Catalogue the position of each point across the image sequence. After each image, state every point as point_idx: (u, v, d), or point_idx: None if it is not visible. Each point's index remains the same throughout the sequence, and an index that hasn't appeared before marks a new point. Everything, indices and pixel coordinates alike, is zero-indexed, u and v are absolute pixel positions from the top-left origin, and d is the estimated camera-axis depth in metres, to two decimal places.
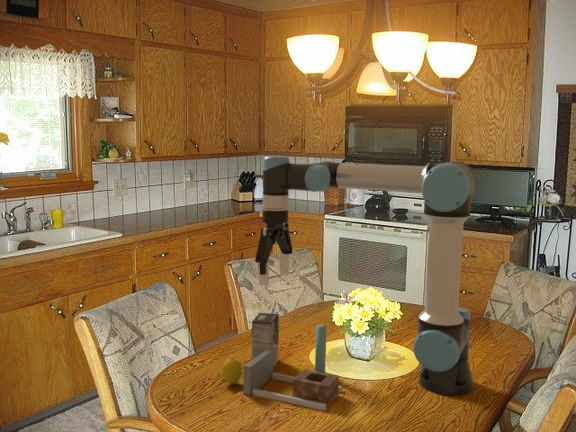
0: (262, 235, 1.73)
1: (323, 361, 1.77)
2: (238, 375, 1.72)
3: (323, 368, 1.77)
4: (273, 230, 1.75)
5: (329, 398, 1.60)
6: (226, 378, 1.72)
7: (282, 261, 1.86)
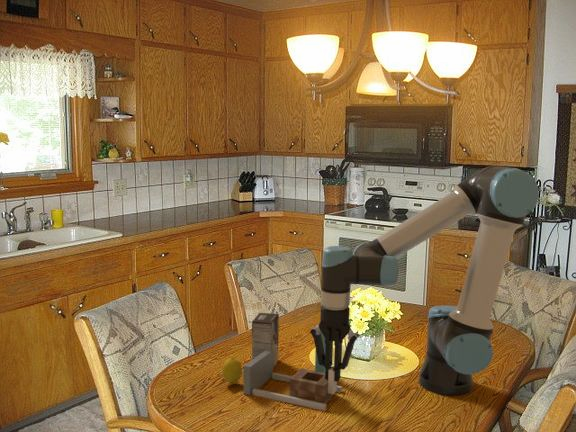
0: None
1: None
2: (238, 375, 1.72)
3: (323, 368, 1.77)
4: (321, 327, 1.60)
5: (326, 397, 1.60)
6: (226, 378, 1.72)
7: None
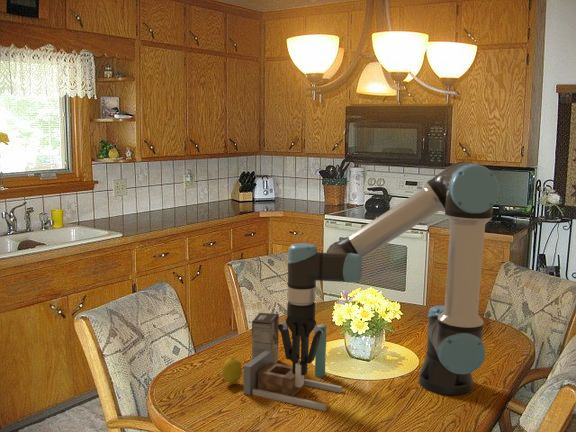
0: None
1: (323, 361, 1.77)
2: (238, 375, 1.72)
3: (323, 368, 1.77)
4: (288, 322, 1.64)
5: (292, 390, 1.64)
6: (226, 378, 1.72)
7: None
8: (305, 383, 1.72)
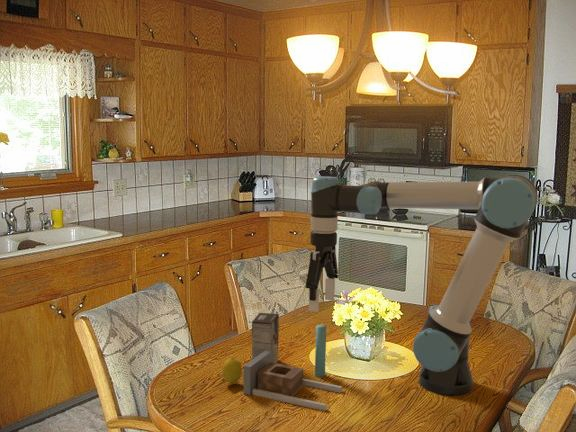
0: (312, 260, 1.68)
1: (323, 361, 1.77)
2: (238, 375, 1.72)
3: (323, 368, 1.77)
4: (322, 253, 1.70)
5: (292, 390, 1.64)
6: (226, 378, 1.72)
7: (328, 285, 1.81)
8: (305, 383, 1.72)
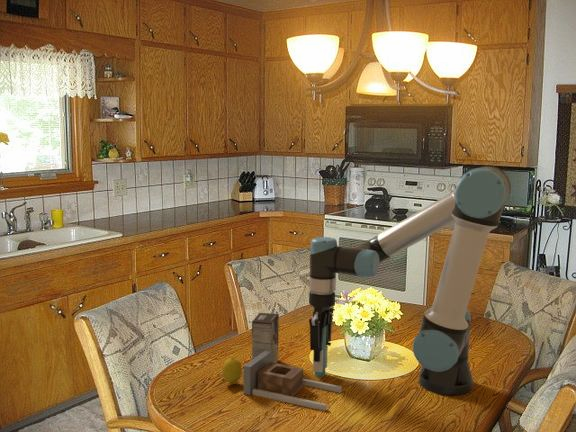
0: (311, 325, 1.72)
1: (323, 361, 1.77)
2: (238, 375, 1.72)
3: (323, 368, 1.77)
4: (321, 314, 1.73)
5: (292, 390, 1.64)
6: (226, 378, 1.72)
7: None
8: (305, 383, 1.72)
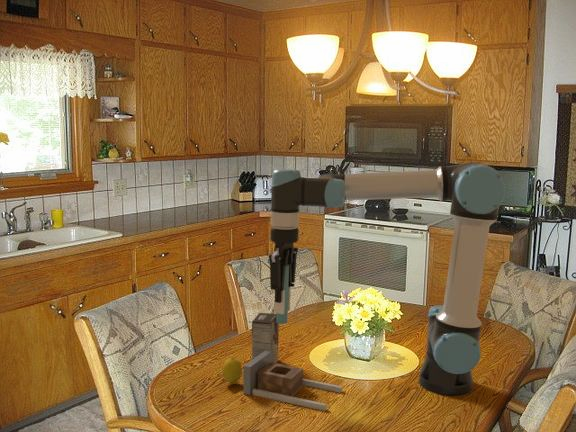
0: (272, 262, 1.60)
1: (285, 302, 1.65)
2: (238, 375, 1.72)
3: (285, 311, 1.66)
4: (282, 251, 1.61)
5: (292, 390, 1.64)
6: (226, 378, 1.72)
7: None
8: (305, 383, 1.72)
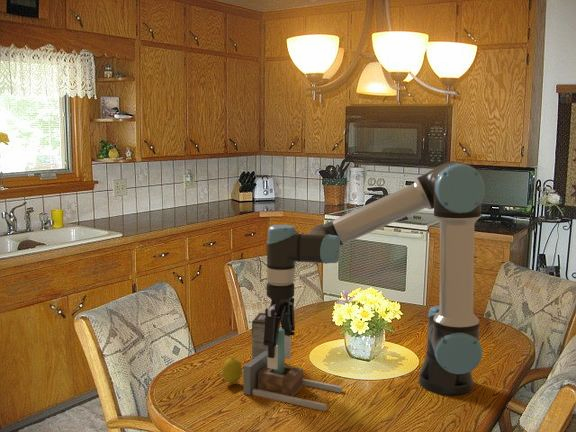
0: (267, 316, 1.60)
1: (281, 367, 1.67)
2: (238, 375, 1.72)
3: None
4: (278, 306, 1.62)
5: (292, 390, 1.64)
6: (226, 378, 1.72)
7: None
8: (305, 383, 1.72)
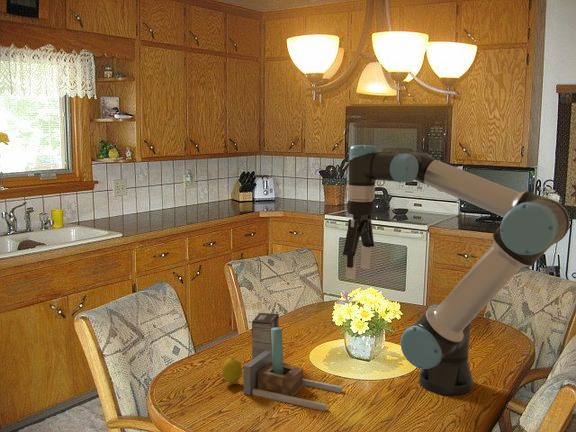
0: (350, 227, 1.67)
1: (280, 366, 1.67)
2: (238, 375, 1.72)
3: None
4: (360, 222, 1.70)
5: (292, 390, 1.64)
6: (226, 378, 1.72)
7: (363, 254, 1.81)
8: (305, 383, 1.72)
